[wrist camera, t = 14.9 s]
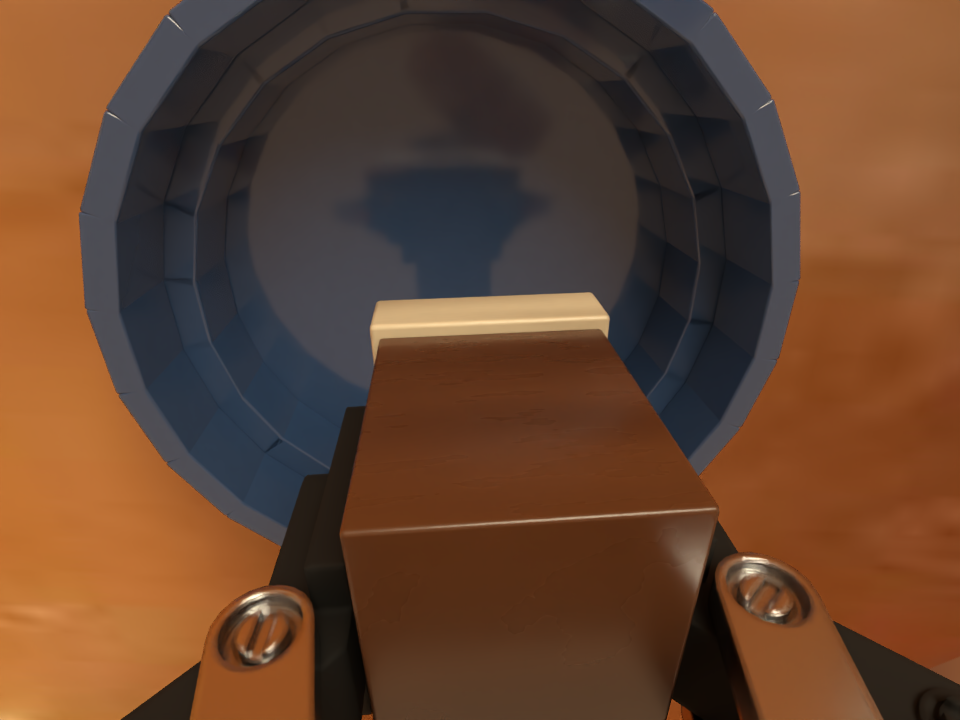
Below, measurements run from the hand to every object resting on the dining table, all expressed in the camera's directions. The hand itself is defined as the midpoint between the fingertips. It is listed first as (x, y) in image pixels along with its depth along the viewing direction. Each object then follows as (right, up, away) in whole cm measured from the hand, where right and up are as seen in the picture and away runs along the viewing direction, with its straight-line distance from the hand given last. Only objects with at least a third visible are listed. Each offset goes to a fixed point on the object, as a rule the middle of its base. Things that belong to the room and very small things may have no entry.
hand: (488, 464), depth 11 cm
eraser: (0, 0, +1) cm, 1 cm away
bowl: (-1, +5, +9) cm, 11 cm away
